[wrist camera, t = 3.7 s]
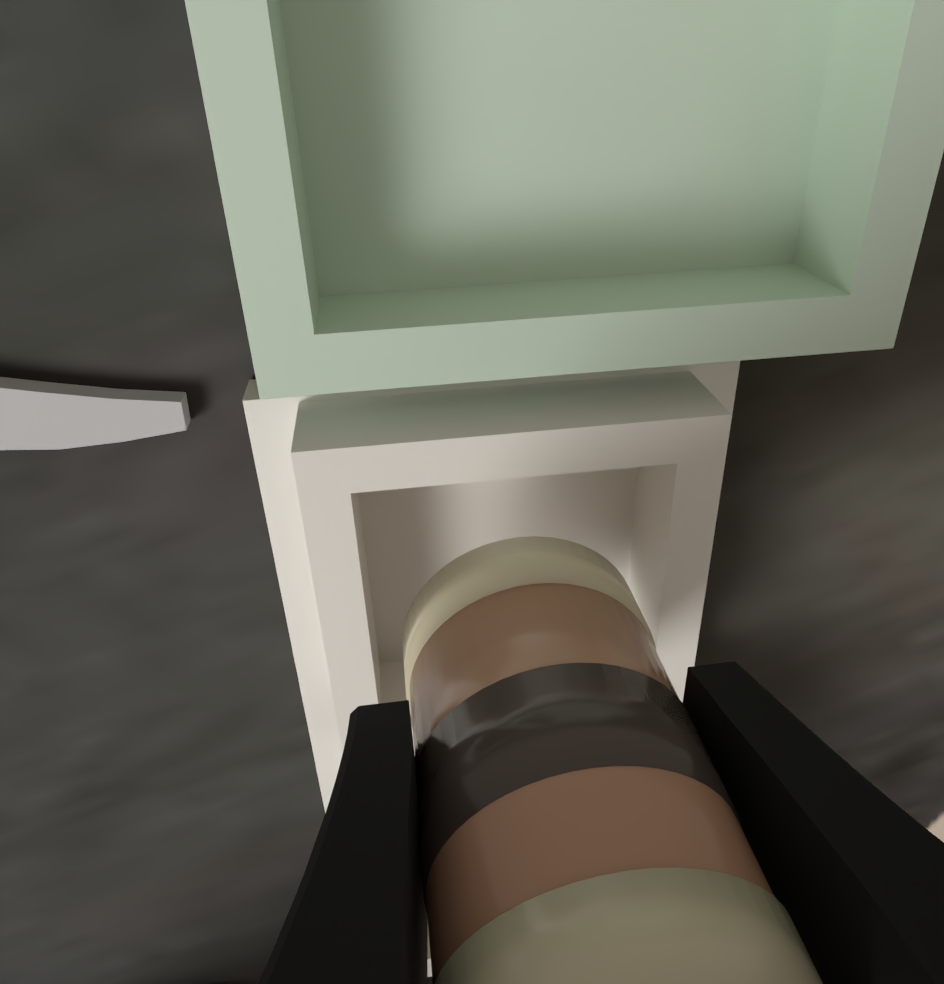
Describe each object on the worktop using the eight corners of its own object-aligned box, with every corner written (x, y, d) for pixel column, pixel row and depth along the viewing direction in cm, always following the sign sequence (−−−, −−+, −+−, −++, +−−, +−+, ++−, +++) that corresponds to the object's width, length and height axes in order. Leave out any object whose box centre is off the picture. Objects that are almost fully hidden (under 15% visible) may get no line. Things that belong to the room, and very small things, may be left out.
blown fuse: (627, 705, 13) (809, 1163, 8) (411, 731, 12) (450, 1228, 7) (643, 525, 11) (899, 962, 6) (392, 549, 11) (424, 1037, 5)
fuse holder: (652, 845, 20) (686, 941, 18) (347, 887, 19) (345, 991, 17) (720, 342, 13) (788, 403, 11) (248, 380, 12) (227, 451, 10)
